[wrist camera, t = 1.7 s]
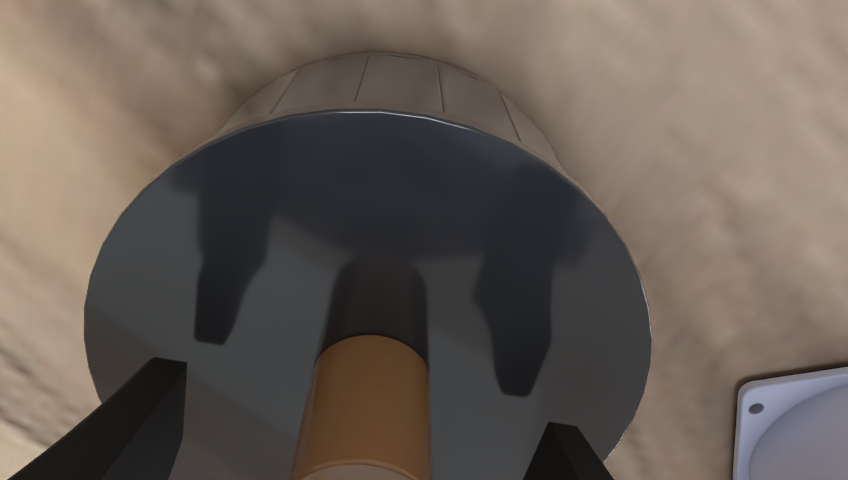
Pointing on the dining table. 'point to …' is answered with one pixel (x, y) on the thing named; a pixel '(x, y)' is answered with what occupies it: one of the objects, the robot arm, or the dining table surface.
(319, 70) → the pot
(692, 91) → the dining table surface
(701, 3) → the dining table surface
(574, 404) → the lid
